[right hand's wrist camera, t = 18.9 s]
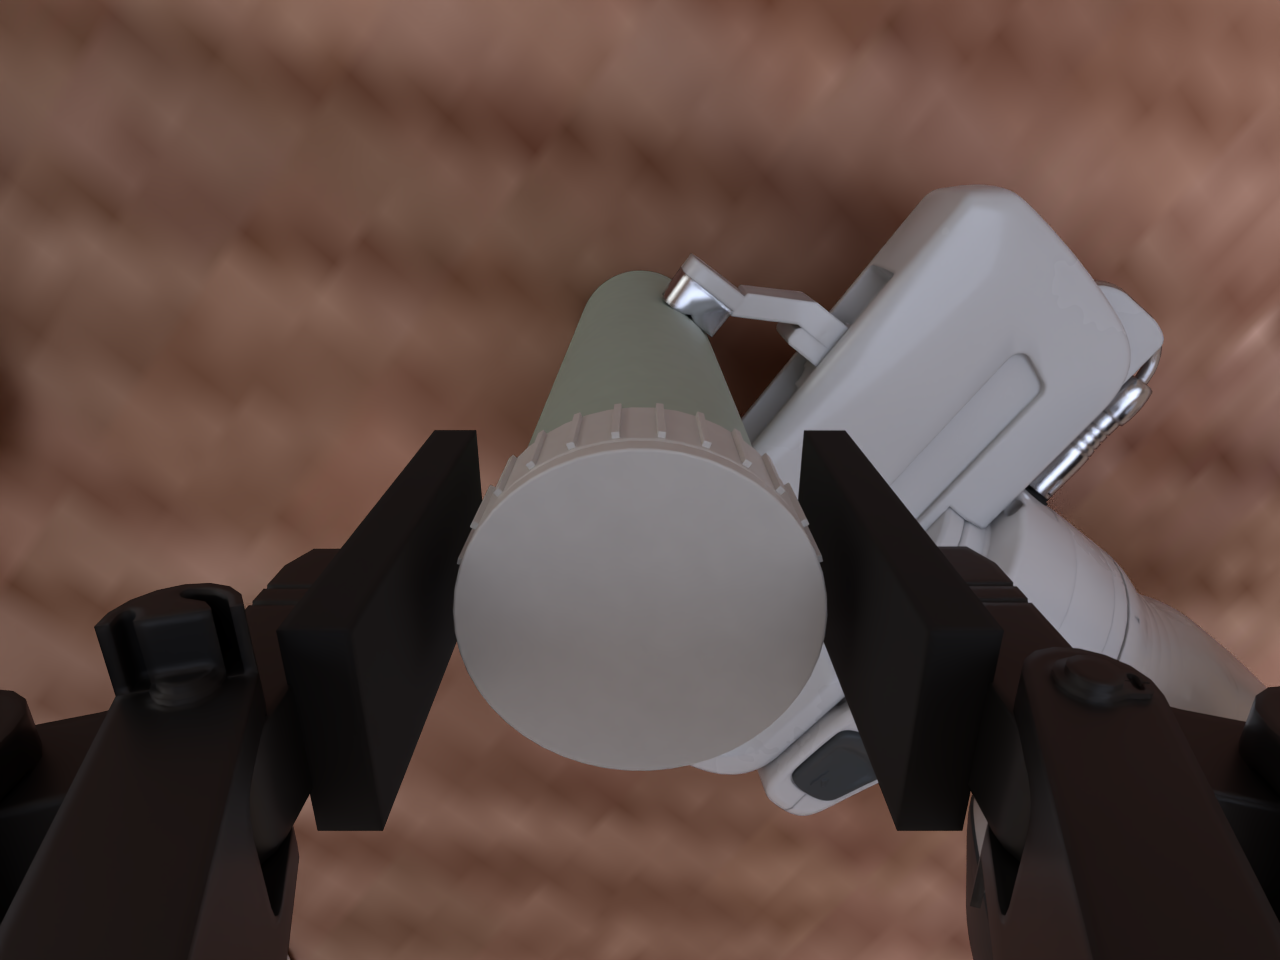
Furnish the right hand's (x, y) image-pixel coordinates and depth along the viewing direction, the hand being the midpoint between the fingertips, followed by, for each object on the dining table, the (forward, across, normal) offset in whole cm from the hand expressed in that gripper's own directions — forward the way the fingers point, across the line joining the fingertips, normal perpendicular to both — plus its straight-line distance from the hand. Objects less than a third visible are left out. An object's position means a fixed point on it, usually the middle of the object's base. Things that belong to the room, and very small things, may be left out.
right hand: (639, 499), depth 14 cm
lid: (-4, 0, 0) cm, 4 cm away
